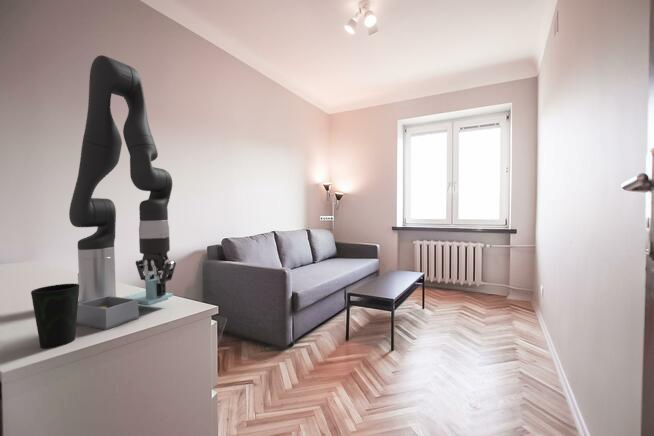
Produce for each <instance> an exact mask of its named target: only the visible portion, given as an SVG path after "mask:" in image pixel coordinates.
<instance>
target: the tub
mask: <svg viewBox="0 0 654 436" xmlns="http://www.w3.org/2000/svg"><path fill="white" fill-rule="evenodd" d="M139 315H140V314H139V304H138V300H137V299H129V298H122V297H119V296H116V297H112V296H106V297H102V298H98V299H94V300H90V301H87V302H83V303H80V302H78V310H77V322H76V326H77V325H79V326H83V327H89V328H94V329H99V330H105V331H108V330H110V329H113V328H117V327H119V326H121V325H124V324H128V323H129V322H133V321H135V320H137V319H139Z"/></svg>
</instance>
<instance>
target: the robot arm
mask: <svg viewBox="0 0 654 436" xmlns="http://www.w3.org/2000/svg"><path fill="white" fill-rule="evenodd" d="M88 81H89V83H88V102H87V104H88V106H87V112H86V113H87V114H86V120H85V126H84V127H85V128H84V132H83V133H84V134H83V136H82V137H83V138H82V143H81V151H80V159H79V166H78V167H79V168H78V173H77V177H76V181H75V185H74V189H73V194H72V196H71V197H72V198H71V201H70V205H69V213H68V215H69V216H68V217H69V218H68V219H69V221H70V224H71V225H72V226H73V227H75V228H97V229H96V231H95V232H94V233H92V234H91V235H89V236H87V237H83V238H81V239H79V240H78V241H77V263H78V273H77V284H79V297H78V303H83V302H87V301H90V300H94V299H98V298H102V297H106V296H112V297H117V290H116V289H117V287H116V286H117V285H116V282H117V281H116V258H115V257H116V255H115V242H116V240H115V239H116V226H117V224H116V223H117V221H116V219H117V209H116V206H115V203H114V202H113V200H112V199H110V198H100V197H97V198H96V197H93V194H94V192H95V190H96V187H97V186H98V184H100V183H101V181H102V180H103V179H104V178H105V177H106V176H107V175H109V174H110V173H111V172H113V170H114V169H115V167H116V166H117V165H118V164H119V161H120V157H121V152H122V146H123V140H122V137H121V134H120V131H119V129H118V127H117V125H116V123H115V120H114V118H113V115H112V110H111V101H112V95H115V96H118V97H122V98H123V99H124V101H125V102H126V104H127V105H126V106H127V107H128V109H127V110H128V113H127V117H126V118H125V122H124V124H123V127H122V128H123V131H122V133H123V138H124V141H125V145H126V147H127V151H128V153H129V174H130V180H131V182H132V184H133V185H134V187H135V188H136V189H138V190H140V191H143V192H150V193H149V196H148V198H147V199H145V200H142V201H141V202H140V203H139V208H138V209H139V210H138V211H139V226H138V238H139V241H138V242H139V253H140V254H143V255H142V259H140V260H136V261H135V267H136V268H137V273H138V275H139V278H140V280H141V281H144V282H145V281H147V280H151V279H155V278H156V281H157V284H156V286H157V296H158V297H160V296H164V295H165V293H167V287H166V286H167V285H166V284H167V282H169V281H172V278H173V276H174V275H173V274H174V273H175V268H176V265H177V263H176V261H174V260H173V261H171V260H169V257H168V252H170V250H171V246H170V245H171V244H170V226H169V214H168V213H169V211H168V205H169V203H170V198H171V194H172V189H173V178H172V176H171V174H170V173H169V171H167V170H166V169H163V168H158V167H154V166H153V164H152V162H153V161H156V160H157V158H158V157H159V156H158V155H159V153H158V149H157V147H156V143H155V140H154V137H153V134H152V132H151V127H150V124H149V119H148V113H147V107H146V98H145V94H144V93H145V92H144V86H143V82H142V78H141V76H140V73H139V72H138V70H136V69H135V68H134V67H132V66H131V65H128V64H126V63H124V62H121V61H119V60H116V59H115V58H112V57H109V56H105V55H97V56H96V57H95V58H94V60H93V61H92V62H91V66H90V70H89V80H88Z"/></svg>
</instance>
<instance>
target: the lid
mask: <svg viewBox="0 0 654 436" xmlns="http://www.w3.org/2000/svg"><path fill="white" fill-rule="evenodd" d="M144 282H145V290H144V291H141V292H140V291H139V292H136V293H133V294H129V295H125V296H122V297H121V298H129V299H137V300H138V306H139V305H140V306H152V305H155V304H159V303H161V302H165V301H167V300H169V298H172V297H174V293H171V292H166V293H165V295H164V296H160V297H158V296H157V286H156V284H157V281H156V278H155V279H151V280H147V281H145V280H144Z"/></svg>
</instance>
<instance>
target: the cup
mask: <svg viewBox="0 0 654 436" xmlns="http://www.w3.org/2000/svg"><path fill="white" fill-rule="evenodd" d="M30 295H31V300H32V306H33V311H34V312H33V313H34V319H35V324H36V330H37V337H38V341H39V347H40V348H41V349H53V348H54V349H55V348H59V347H62V346H64V345H65V346H66V345H68V344H70V343H72V342H74V341H75V340H76V334H77V332H76V331H77V324H76V322H77V310H78V304H79V284H78V283H61V284H53V285H47V286H43V287H39V288H35V289H32V290H31V291H30Z"/></svg>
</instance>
